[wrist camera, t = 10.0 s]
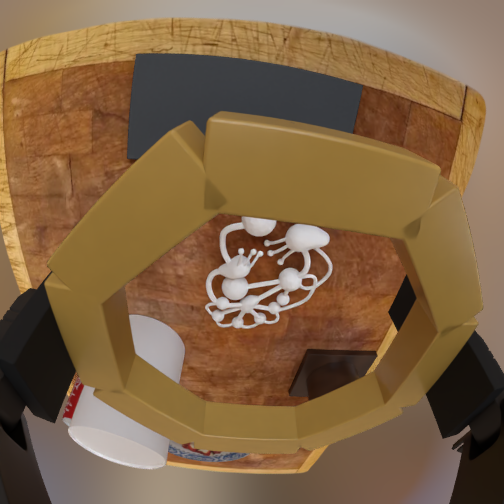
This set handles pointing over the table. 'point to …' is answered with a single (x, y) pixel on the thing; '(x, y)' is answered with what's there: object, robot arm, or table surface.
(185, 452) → the ceramic plate
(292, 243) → the tangled rod sculpture
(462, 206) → the ring
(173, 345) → the canister
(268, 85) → the mat
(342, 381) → the stand
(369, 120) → the table surface
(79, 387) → the soda can
